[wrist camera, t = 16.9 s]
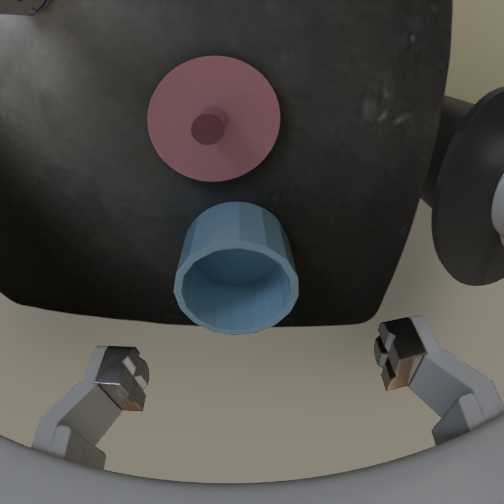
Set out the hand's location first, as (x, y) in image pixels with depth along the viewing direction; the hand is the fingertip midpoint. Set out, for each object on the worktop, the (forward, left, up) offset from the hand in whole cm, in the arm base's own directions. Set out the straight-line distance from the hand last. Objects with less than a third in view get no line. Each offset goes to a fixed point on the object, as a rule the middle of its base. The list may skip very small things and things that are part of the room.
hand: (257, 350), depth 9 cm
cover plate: (+3, -3, -25) cm, 25 cm away
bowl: (+3, +13, -25) cm, 28 cm away
